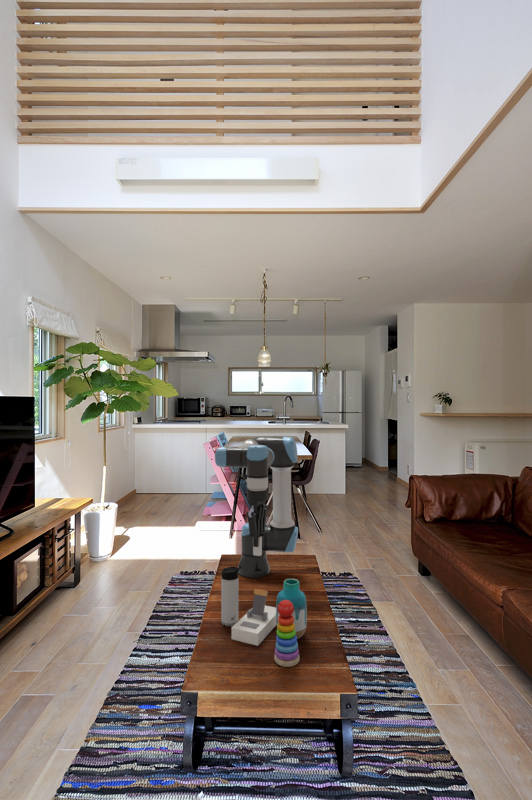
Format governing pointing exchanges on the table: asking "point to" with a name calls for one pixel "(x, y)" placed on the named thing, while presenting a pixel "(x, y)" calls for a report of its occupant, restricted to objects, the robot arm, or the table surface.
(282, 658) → the stacking toy
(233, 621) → the travel mug
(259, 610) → the lever
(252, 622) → the switch box
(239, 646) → the table surface
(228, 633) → the table surface
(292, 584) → the vase
